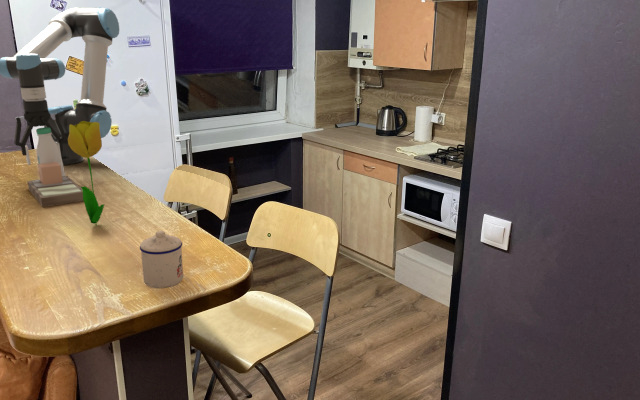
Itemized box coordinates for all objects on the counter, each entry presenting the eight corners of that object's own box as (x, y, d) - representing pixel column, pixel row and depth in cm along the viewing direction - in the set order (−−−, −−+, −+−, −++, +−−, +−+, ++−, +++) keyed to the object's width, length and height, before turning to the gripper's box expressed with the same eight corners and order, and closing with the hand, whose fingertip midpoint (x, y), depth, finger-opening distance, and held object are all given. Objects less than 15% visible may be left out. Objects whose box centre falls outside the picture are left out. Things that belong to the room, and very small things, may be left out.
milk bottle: (70, 179, 197) (60, 126, 190) (56, 186, 191) (44, 131, 183) (53, 178, 199) (42, 125, 192) (38, 185, 192) (25, 130, 185)
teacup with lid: (187, 285, 119) (184, 236, 115) (145, 292, 115) (140, 241, 112) (178, 264, 129) (175, 218, 126) (139, 270, 126) (134, 223, 122)
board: (28, 189, 187) (27, 180, 186) (68, 183, 194) (67, 175, 193) (42, 207, 168) (41, 197, 167) (85, 200, 176) (84, 191, 175)
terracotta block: (40, 180, 185) (37, 164, 184) (58, 178, 189) (56, 162, 187) (43, 184, 181) (41, 167, 179) (62, 182, 184) (60, 165, 182)
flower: (117, 222, 156) (107, 120, 147) (99, 231, 149) (87, 124, 140) (92, 219, 159) (80, 118, 150) (73, 228, 151) (59, 122, 142)
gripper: (0, 103, 177) (11, 168, 184) (71, 98, 190) (79, 159, 197) (-4, 100, 183) (8, 164, 190) (65, 96, 196) (74, 155, 203)
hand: (44, 161), depth 193 cm, fingers open, 9 cm apart
